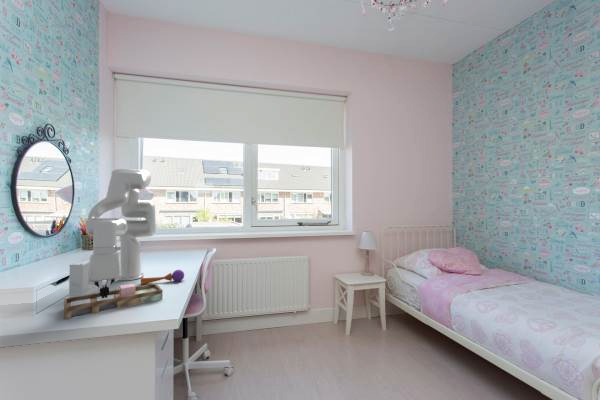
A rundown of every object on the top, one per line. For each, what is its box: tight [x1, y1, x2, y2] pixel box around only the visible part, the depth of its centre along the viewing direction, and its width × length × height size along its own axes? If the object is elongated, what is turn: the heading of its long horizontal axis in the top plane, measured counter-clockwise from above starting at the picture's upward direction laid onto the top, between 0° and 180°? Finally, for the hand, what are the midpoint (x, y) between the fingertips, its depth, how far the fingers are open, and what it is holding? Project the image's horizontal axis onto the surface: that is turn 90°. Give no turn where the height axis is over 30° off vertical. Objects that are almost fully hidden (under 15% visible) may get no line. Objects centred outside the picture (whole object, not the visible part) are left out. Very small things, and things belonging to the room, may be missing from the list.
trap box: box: [63, 282, 163, 320], centre depth 112 cm, size 32×12×4 cm, turn 130°
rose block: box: [119, 283, 137, 297], centre depth 114 cm, size 5×5×4 cm
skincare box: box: [68, 259, 97, 298], centre depth 121 cm, size 8×6×15 cm
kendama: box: [140, 269, 185, 286], centre depth 142 cm, size 6×6×20 cm
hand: (104, 297), depth 109 cm, fingers closed
